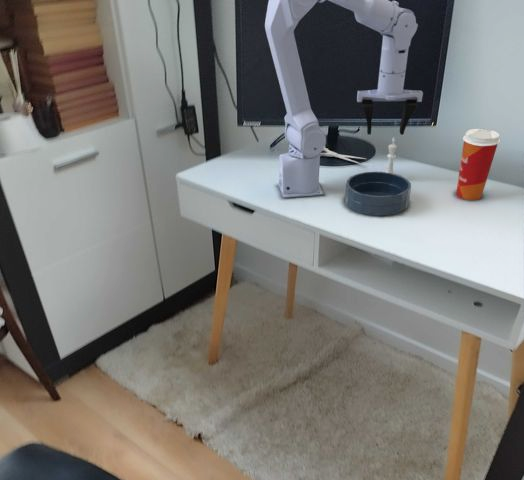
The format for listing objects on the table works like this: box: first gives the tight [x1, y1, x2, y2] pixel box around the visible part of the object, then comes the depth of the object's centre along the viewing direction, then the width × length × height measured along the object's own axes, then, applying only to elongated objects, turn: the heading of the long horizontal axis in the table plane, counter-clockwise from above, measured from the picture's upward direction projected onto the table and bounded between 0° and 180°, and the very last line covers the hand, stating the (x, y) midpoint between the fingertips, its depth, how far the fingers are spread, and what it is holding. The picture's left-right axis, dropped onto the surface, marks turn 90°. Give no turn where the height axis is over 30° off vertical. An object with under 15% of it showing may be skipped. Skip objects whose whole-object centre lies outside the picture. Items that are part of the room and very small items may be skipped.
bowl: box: [344, 171, 412, 216], centre depth 123 cm, size 14×14×4 cm
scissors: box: [320, 146, 366, 165], centre depth 147 cm, size 11×1×20 cm
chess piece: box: [384, 136, 399, 175], centre depth 132 cm, size 5×5×10 cm
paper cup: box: [456, 128, 501, 201], centre depth 122 cm, size 8×8×14 cm
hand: (385, 133), depth 130 cm, fingers open, 7 cm apart
